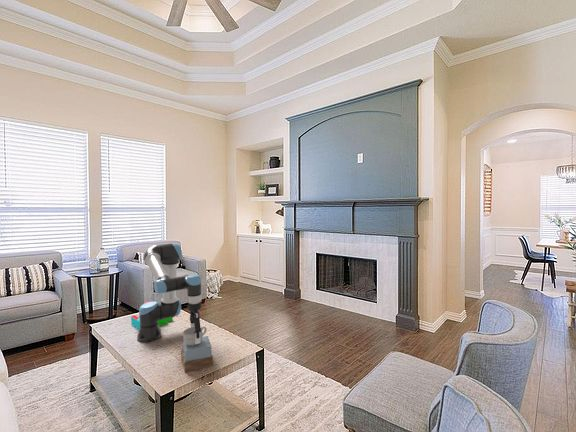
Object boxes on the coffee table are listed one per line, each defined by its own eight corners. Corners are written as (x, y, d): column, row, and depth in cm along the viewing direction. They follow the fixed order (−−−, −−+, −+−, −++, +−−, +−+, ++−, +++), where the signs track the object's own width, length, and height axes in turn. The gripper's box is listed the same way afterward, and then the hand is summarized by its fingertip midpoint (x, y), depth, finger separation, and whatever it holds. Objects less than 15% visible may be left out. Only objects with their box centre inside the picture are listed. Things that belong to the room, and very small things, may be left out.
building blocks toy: (174, 321, 237) (173, 298, 236) (140, 331, 219) (139, 306, 218) (163, 315, 250) (163, 293, 249) (131, 324, 232) (130, 301, 231)
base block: (181, 360, 178) (181, 350, 177) (207, 354, 184) (206, 345, 184) (185, 373, 164) (184, 362, 164) (212, 366, 171) (212, 356, 171)
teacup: (186, 350, 166) (186, 335, 165) (180, 342, 174) (180, 329, 174) (211, 342, 174) (210, 329, 173) (204, 336, 182) (203, 323, 182)
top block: (183, 350, 178) (183, 340, 178) (208, 345, 183) (207, 336, 183) (185, 361, 165) (185, 351, 165) (211, 356, 170) (211, 346, 170)
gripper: (184, 297, 182) (185, 331, 183) (191, 310, 160) (192, 349, 161) (197, 295, 185) (197, 329, 186) (205, 307, 163) (206, 346, 164)
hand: (195, 338), depth 174 cm, fingers open, 13 cm apart
